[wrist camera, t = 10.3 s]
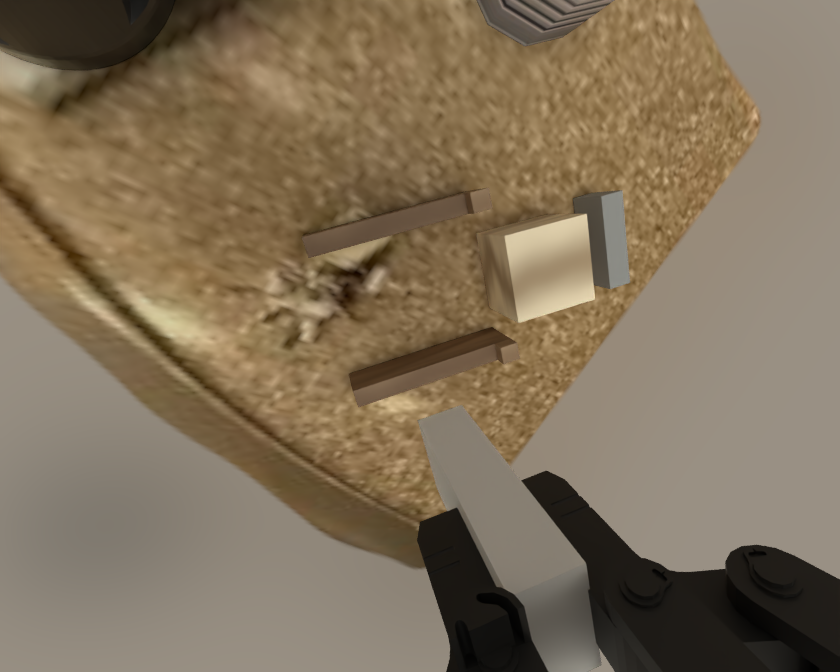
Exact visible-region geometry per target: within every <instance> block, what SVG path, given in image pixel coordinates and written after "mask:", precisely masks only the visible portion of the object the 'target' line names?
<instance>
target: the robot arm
mask: <svg viewBox="0 0 840 672" xmlns="http://www.w3.org/2000/svg"><path fill="white" fill-rule="evenodd" d="M174 1H175V0H0V50H2V51H4V52H6V53H8V54H10V55H12V56H15V57H17V58H20V59H22V60H25V61H28V62H31V63H35V64H38V65H42V66H46V67H51V68H58V69H67V70H88V69H97V68H102V67H106V66H110V65H113V64H116V63H119V62H121V61H124V60H126V59H128V58H130V57H132V56H133V55H135V54H136V53H138V52H139V51H141V50H142V49H143V48H145V47H146V46H147V45H148V44H149V43H150V42H151V41H152V40H153V39H154V38H155V37H156V35H157V34H158V33H159V32H160V30H161V29H162V27H163V26H164V24H165V22H166V20H167V19H168V17H169V14H170V12H171V10H172V7H173V4H174ZM418 423H419V427H420V430H421V434H422V437H423V441H424V444H425V448H426V451H427V454H428V458H429V461H430V465H431V468H432V472H433V475H434V479H435V482H436V486H437V489H438V491H439V494H440V496H441V498H442V500H443V502H444V504H445V507H446V509H447V512H444V513H442V514H439V515H437V516H434V517H431V518H429V519H426V520H424V521H421V522H420V526H419V532H418V538H417V541H418V544H419V547H420V550H421V554H422V557H423V560H424V563H425V566H426V569H427V572H428V575H429V578H430V581H431V585H432V588H433V590H434V594H435V597H436V600H437V603H438V606H439V609H440V612H441V615H442V619H443V622H444V625H445V628H446V631H447V634H448V638H449V643H450V660H449V664H448V667H447V671H446V672H588V671H590V670H592V669H594V668H597V667H599V666H601V658H600V652H599V648H600V650H601V651H602V653H603V654H604V656H605V657H606V659H607V660H608V662H609V663H610V665H611V666H612V668H613V669H614V671H615V672H840V579H837V578H836V577H834V576H832V575H830V574H828V573H826V572H824V571H822V570H820V569H819V568H817V567H815V566H813V565H811V564H809V563H807V562H805V561H803V560H802V559H800V558H798V557H796V556H794V555H791V554H789V553H786V552H784V551H781V550H779V549H777V548H772V547H767V546H761V545H750V546H741V547H739V548H737V549H735V550H734V551H732V552H730V554H729V556H728V558H727V560H726V563H725V564H726V565H725V567H726V568H725V569H719V570H708V571H697V572H675V571H670V570H668V569H666V568H665V567H664V566H662V565H661V564H659V563H656V562H653V561H651V560H648V559H645V558H641V557H639V556H638V555H637V554H636V553H635V552H634V551H632V550H631V548H629V546H628V545H627V544H626V543H625V542H624V541H623V540H622V539H621V538H620V537H619V536H618V535H617V534H616V533H615V532H614V531H613V530H612V528H610V526H609V525H608V524H607V523H606V522H605V521H604V520H603V519H602V518H601V517H600V516H599V515H598V514H597V513H596V512H595V511H594V510H593V509H592V508H590V507H589V504H588V503H587V502H586V501H585V500H584V499H583V498H582V497H581V496H579V495H578V493H577V492H576V491H575V490H574V489H573V488H572V487H571V486H570V485H569V484H568V482H567V481H565V479H563V478H561V477H559V476H557V475H555V474H552V473H550V472H548V471H544V472H542V473H539V474H537V475H534V476H531V477H529V478H526V479H524V480H520V479H519V477H518V476H517V475H516V474H515V472H514V471H513V470H512V468H511V467H510V466H509V465H508V463H507V462H506V461H505V460H504V458H503V457H502V456H501V454H500V453H499V452H498V451H497V449H496V448H495V447H494V446H493V444H492V443H491V442H490V440H489V439H488V438H487V437H486V435H485V434H484V433H483V432H482V430H481V429H480V428H479V427H478V425H477V424H476V423H475V421H474V420H473V419H472V418H471V416H470V415H469V414H468V413H467V411H466V410H465V409H464V407H463V406H462V405H460V406H457V407H454V408H451V409H449V410H446V411H443V412H440V413H437V414H435V415H432V416H429V417H426V418H423V419H421V420H418Z"/></svg>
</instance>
